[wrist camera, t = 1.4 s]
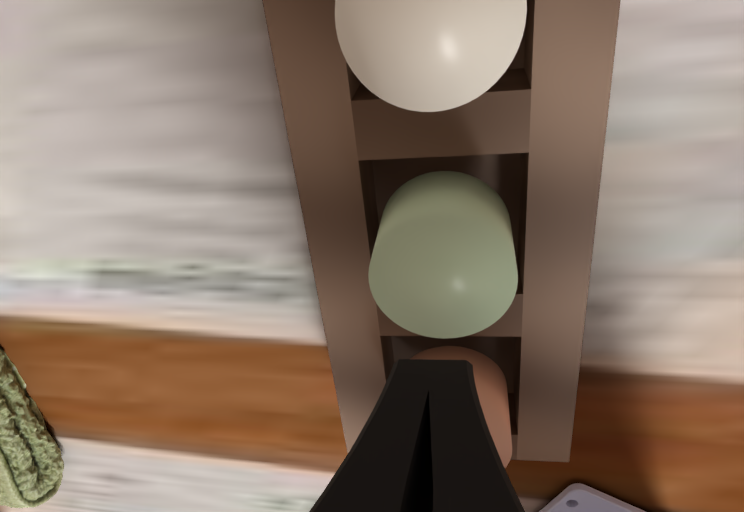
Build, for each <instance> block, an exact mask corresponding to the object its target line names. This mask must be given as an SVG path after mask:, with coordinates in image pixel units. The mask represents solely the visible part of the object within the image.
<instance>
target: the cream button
mask: <svg viewBox="0 0 744 512" xmlns="http://www.w3.org/2000/svg"><path fill="white" fill-rule="evenodd" d="M526 14H527V0H335V26H336V32H337V37H338V41H339V44H340V47H341V50H342V53H343V55H344V57H345V59H346V61H347V63H348V65H349V67H350V68H351V70H352V71H353V73H354V74H355V75H356V77H357V78H358V79H359V80H360V82H361V83H362V84H363V85H364V86H365V87H366V88H367V89H368V90H370V91H371V92H372V93H374V94H375V95H376V96H378V97H379V98H381V99H382V100H384V101H386V102H388V103H390V104H392V105H395V106H397V107H400V108H403V109H407V110H412V111H419V112H436V111H444V110H448V109H452V108H456V107H459V106H461V105H464V104H466V103H468V102H470V101H472V100H474V99H476V98H478V97H479V96H480V95H482V94H483V93H485V92H486V91H487V90H488V89H490V88H491V87H492V86H493V85H494V84H495V83H496V82H497V81H498V80H499V79H500V77H501V76H502V75H503V74H504V73H505V71H506V70H507V68H508V67H509V65H510V64H511V62H512V61H513V59H514V57H515V55H516V53H517V51H518V48H519V46H520V43H521V40H522V37H523V33H524V28H525V24H526Z"/></svg>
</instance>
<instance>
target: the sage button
mask: <svg viewBox="0 0 744 512" xmlns="http://www.w3.org/2000/svg"><path fill="white" fill-rule="evenodd" d="M368 276H369V285H370V290H371V293H372V295H373V298H374V300H375V301H376V303H377V305H378V306H379V308H380V309H381V310H382V312H383V313H384V314H385V315H386V316H387V317H388V318H390V319H391V320H392V321H393V322H394V323H396V324H397V325H399V326H401V327H402V328H404V329H406V330H408V331H410V332H413V333H416V334H419V335H422V336H426V337H432V338H444V339H445V338H458V337H464V336H468V335H472V334H474V333H477V332H480V331H482V330H484V329H486V328H488V327H489V326H491V325H492V324H494V323H495V322H496V321H497V320H498V319H500V318H501V317H502V316H503V315H504V313H505V312H506V311H507V310H508V308H509V307H510V305H511V304H512V301H513V299H514V297H515V294H516V290H517V285H518V271H517V264H516V257H515V250H514V243H513V236H512V229H511V222H510V217H509V213H508V210H507V208H506V205H505V204H504V202H503V200H502V199H501V197H500V196H499V195H498V193H497V192H496V191H495V190H494V189H493V188H492V187H490V186H489V185H488V184H486V183H485V182H483V181H481V180H480V179H478V178H476V177H473V176H471V175H468V174H464V173H461V172H454V171H436V172H430V173H426V174H423V175H420V176H417V177H415V178H413V179H411V180H409V181H407V182H406V183H405V184H403V185H402V186H401V187H399V188H398V189H397V190H396V191H395V192H394V194H393V195H392V196H391V197H390V199H389V200H388V202H387V204H386V206H385V208H384V211H383V214H382V218H381V222H380V226H379V230H378V234H377V238H376V241H375V245H374V249H373V253H372V257H371V261H370V265H369V273H368Z"/></svg>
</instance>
